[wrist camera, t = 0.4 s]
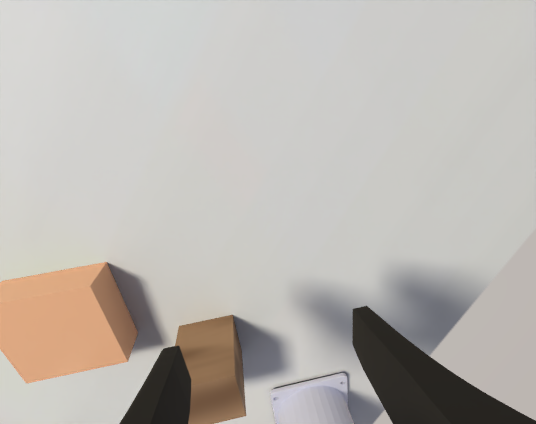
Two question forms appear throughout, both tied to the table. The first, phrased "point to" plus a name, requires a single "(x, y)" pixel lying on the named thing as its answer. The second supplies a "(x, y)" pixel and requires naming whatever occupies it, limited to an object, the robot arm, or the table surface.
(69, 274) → the terracotta block
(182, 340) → the walnut block
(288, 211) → the table surface
